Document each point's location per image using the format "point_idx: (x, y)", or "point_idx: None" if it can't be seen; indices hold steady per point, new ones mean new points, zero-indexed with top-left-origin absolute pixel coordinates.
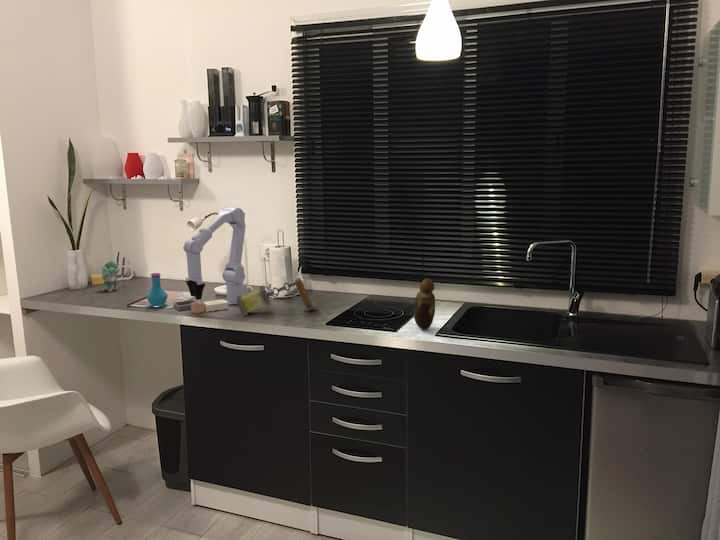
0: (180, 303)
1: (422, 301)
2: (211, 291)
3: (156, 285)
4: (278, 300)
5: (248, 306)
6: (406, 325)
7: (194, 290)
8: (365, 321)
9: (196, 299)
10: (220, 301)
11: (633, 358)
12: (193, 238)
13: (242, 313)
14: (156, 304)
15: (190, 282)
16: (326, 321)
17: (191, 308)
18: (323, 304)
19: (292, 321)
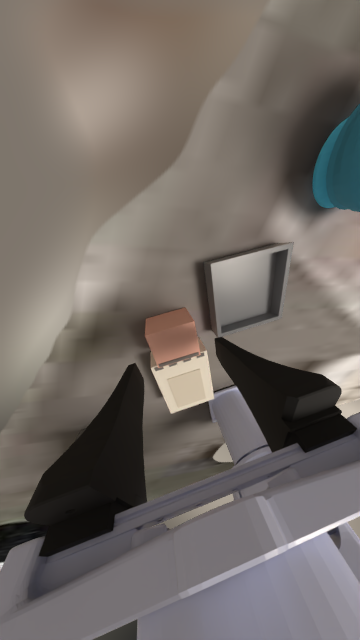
0: (278, 272)
1: None
2: (354, 349)
3: None
4: (201, 451)
5: None
6: (3, 563)
7: (99, 418)
8: (26, 541)
9: (128, 366)
10: (188, 398)
11: None
12: None
13: (77, 437)
14: (335, 143)
15: (275, 411)
16: (24, 520)
17: (182, 312)
18: (148, 492)
19: (21, 495)
